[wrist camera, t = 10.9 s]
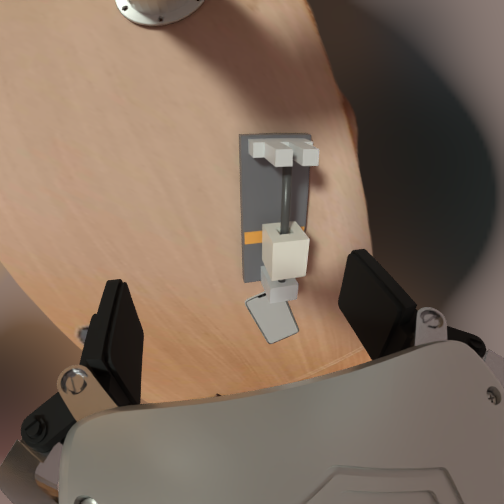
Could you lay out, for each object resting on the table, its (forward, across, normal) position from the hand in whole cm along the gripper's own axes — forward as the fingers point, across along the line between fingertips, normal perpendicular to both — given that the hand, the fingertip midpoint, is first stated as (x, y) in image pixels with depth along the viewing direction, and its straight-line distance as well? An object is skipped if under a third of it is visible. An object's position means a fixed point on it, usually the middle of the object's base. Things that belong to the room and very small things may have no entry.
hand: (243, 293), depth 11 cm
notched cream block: (+27, -10, +14) cm, 32 cm away
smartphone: (+31, -11, +33) cm, 47 cm away
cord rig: (+30, -10, +10) cm, 33 cm away
